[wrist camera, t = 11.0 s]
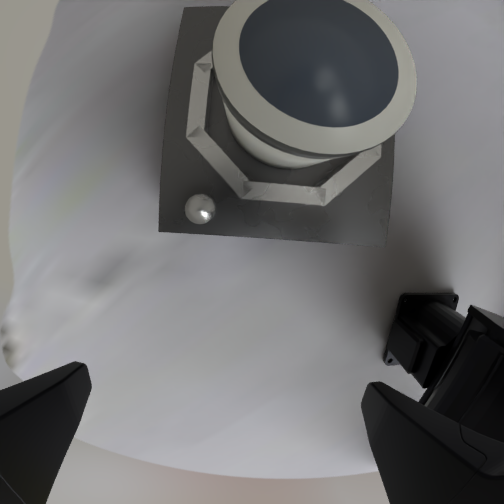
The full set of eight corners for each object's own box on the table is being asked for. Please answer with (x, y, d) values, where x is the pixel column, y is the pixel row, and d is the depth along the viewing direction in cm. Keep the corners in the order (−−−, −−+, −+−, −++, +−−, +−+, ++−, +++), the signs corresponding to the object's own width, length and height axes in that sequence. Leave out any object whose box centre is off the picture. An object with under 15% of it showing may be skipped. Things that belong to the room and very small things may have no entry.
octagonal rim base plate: (361, 61, 17) (398, 26, 11) (353, 233, 20) (395, 252, 14) (196, 43, 17) (180, -4, 10) (179, 220, 19) (151, 235, 13)
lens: (346, 68, 13) (408, 4, 6) (343, 176, 14) (420, 172, 7) (231, 54, 12) (223, -31, 6) (221, 165, 14) (199, 144, 7)
